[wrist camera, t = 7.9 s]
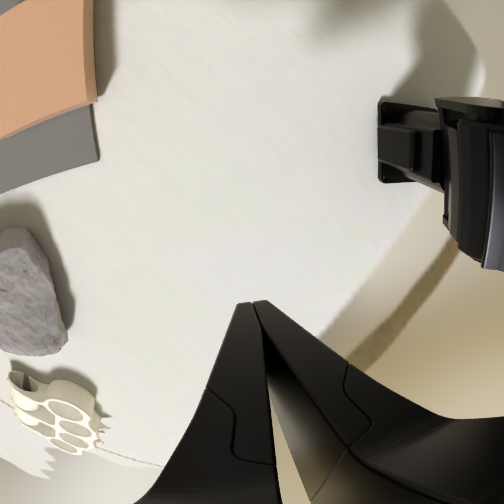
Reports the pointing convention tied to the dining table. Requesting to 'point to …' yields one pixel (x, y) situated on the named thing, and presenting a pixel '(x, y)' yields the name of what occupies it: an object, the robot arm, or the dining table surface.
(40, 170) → the mat
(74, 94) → the tan flat block
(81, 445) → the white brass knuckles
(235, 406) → the robot arm
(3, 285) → the stone block
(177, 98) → the dining table surface
